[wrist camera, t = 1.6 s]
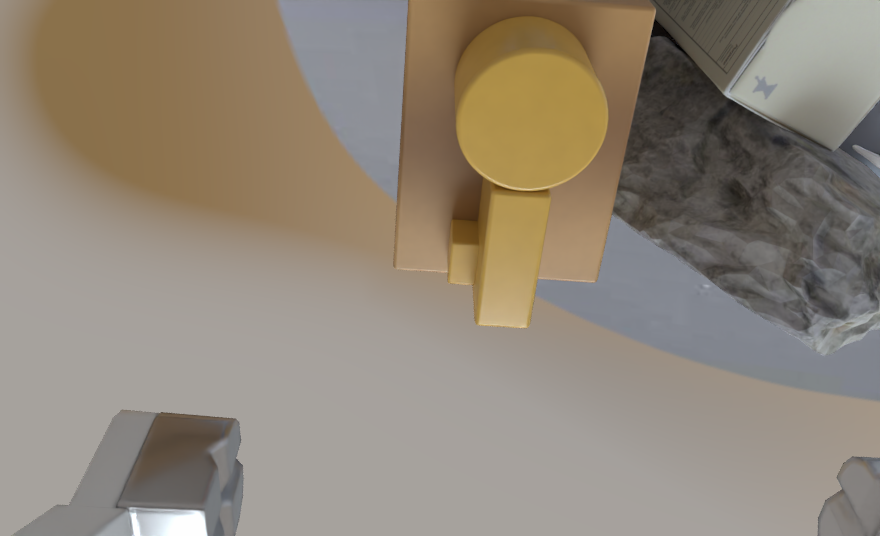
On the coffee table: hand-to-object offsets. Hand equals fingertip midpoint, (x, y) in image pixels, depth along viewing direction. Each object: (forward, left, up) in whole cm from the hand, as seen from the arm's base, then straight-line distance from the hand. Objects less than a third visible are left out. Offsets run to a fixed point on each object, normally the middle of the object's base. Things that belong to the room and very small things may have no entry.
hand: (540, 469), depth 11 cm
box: (+2, +10, -26) cm, 28 cm away
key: (-1, 0, -7) cm, 7 cm away
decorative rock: (+9, +8, -26) cm, 29 cm away
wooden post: (-1, 0, -26) cm, 26 cm away
